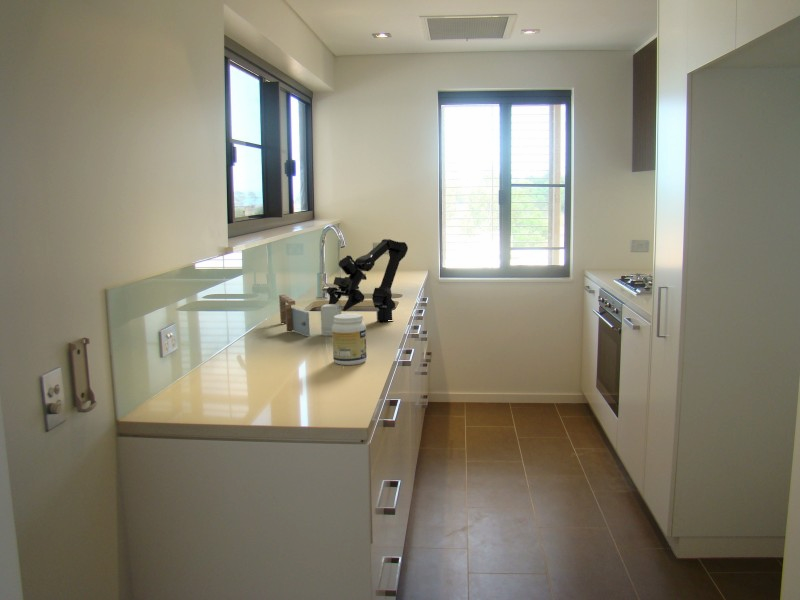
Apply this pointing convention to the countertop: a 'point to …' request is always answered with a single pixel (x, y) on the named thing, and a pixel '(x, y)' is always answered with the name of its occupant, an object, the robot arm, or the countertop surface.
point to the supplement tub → (349, 339)
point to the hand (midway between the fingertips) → (336, 309)
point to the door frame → (286, 311)
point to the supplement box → (329, 317)
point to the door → (300, 321)
